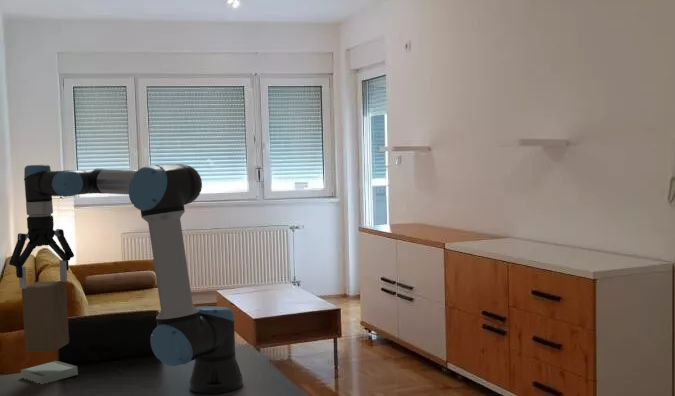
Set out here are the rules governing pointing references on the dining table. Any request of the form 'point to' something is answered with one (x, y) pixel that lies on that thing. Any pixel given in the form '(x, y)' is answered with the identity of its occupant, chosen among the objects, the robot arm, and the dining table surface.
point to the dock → (49, 372)
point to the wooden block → (45, 316)
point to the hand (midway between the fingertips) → (44, 284)
